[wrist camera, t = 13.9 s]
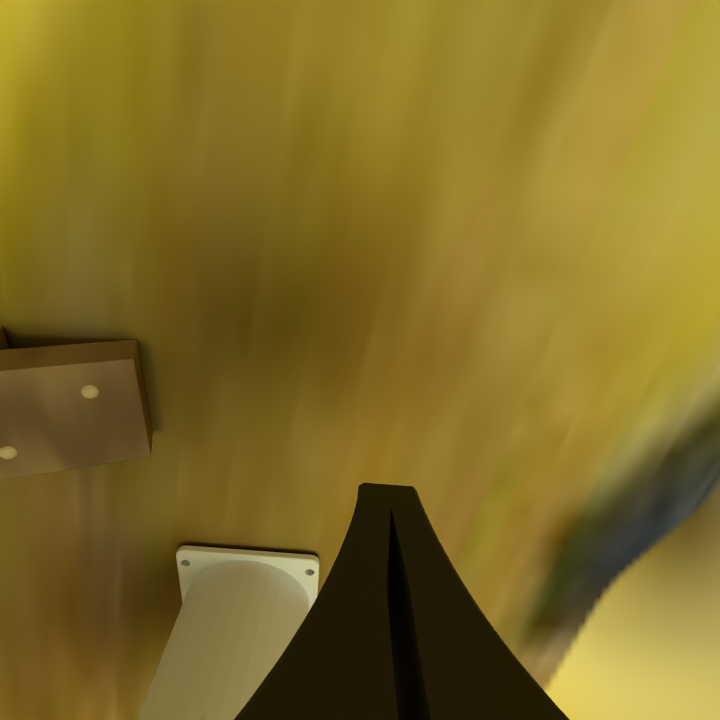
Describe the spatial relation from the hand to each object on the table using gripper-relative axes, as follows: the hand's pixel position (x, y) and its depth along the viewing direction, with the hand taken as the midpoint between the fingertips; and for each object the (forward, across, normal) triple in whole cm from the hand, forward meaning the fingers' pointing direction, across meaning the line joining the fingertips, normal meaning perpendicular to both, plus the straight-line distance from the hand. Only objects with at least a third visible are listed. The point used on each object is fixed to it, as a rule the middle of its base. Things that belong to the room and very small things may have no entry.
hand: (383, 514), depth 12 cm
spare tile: (+9, +10, +3) cm, 14 cm away
